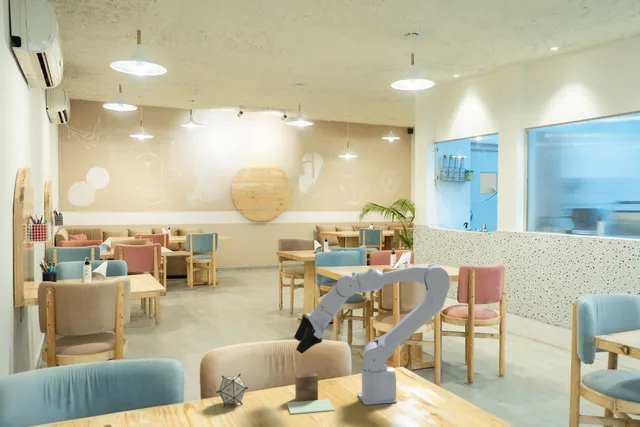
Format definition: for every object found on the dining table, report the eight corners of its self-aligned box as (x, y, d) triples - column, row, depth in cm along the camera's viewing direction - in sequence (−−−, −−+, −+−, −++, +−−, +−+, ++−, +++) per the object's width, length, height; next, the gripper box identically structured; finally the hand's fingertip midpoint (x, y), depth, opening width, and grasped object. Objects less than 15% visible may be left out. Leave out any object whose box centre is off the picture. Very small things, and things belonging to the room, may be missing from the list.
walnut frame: (315, 396, 145) (315, 372, 145) (317, 400, 142) (317, 376, 142) (295, 398, 144) (295, 374, 144) (297, 402, 141) (296, 377, 141)
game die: (236, 419, 138) (239, 398, 132) (209, 406, 140) (211, 385, 134) (251, 394, 145) (254, 373, 140) (225, 382, 147) (227, 360, 141)
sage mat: (328, 400, 142) (328, 399, 142) (334, 410, 135) (334, 409, 135) (286, 403, 140) (286, 402, 140) (290, 414, 132) (290, 413, 132)
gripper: (313, 292, 150) (285, 327, 151) (319, 311, 136) (288, 349, 137) (331, 305, 152) (303, 339, 153) (339, 325, 138) (308, 362, 139)
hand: (297, 345), depth 145 cm, fingers open, 7 cm apart
